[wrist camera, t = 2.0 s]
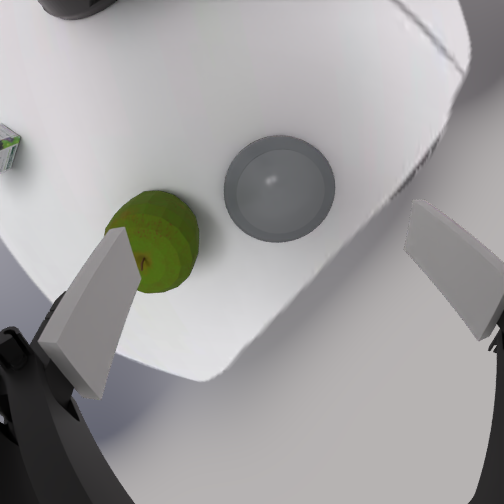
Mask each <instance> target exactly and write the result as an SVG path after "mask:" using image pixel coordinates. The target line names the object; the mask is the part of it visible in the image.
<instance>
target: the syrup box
mask: <svg viewBox="0 0 504 504" xmlns="http://www.w3.org/2000/svg"><path fill="white" fill-rule="evenodd" d="M19 140H20V136H18V135H17V134H16V133H14V132H13V131H11V130H10V129H9V128H7V127H6V126H4V125H3V124H0V174H1V173H3V172H5V171H7V170H9V169H11V167H12V163H13V160H14V156H15V153H16V150H17V147H18V144H19Z"/></svg>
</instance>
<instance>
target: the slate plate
mask: <svg viewBox="0 0 504 504" xmlns="http://www.w3.org/2000/svg"><path fill="white" fill-rule="evenodd" d="M334 194H335V180H334V175H333V172H332V169H331V167H330V165H329V163H328V161H327V160H326V158H325V157H324V156H323V155H322V154H321V152H320V151H319V150H317V149H316V148H315V147H313V146H312V145H310V144H309V143H307V142H305V141H303V140H301V139H298V138H295V137H291V136H283V135H280V136H270V137H265V138H262V139H259V140H257V141H255V142H253V143H251V144H249V145H248V146H246V147H245V148H244V149H243V150H242V151H240V152H239V154H238V155H237V156H236V157H235V158H234V160H233V161H232V163H231V165H230V167H229V169H228V171H227V174H226V177H225V183H224V200H225V204H226V208H227V210H228V213H229V215H230V217H231V218H232V220H233V221H234V223H235V224H236V225H237V226H238V227H239V228H240V229H241V230H242V231H244V232H245V233H246V234H248V235H250V236H251V237H254V238H256V239H258V240H262V241H266V242H277V243H279V242H288V241H292V240H295V239H298V238H301V237H303V236H305V235H307V234H308V233H310V232H311V231H313V230H314V229H315V228H316V227H317V226H319V225H320V224H321V222H322V221H323V220H324V219H325V217H326V216H327V214H328V212H329V210H330V208H331V206H332V203H333V200H334Z"/></svg>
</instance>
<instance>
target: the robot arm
mask: <svg viewBox="0 0 504 504" xmlns="http://www.w3.org/2000/svg"><path fill="white" fill-rule="evenodd" d="M37 1H38V2H39V3H40V4H41V5H42V7H43V9H44V10H45V11H46V12H47V13H49V14H50V15H52V16H55V17H58V18H62V19H67V20H73V19H80V18H84V17H87V16H90V15H93V14H95V13H97V12H99V11H101V10H103V9H105V8H106V7H108V6H110V5H111V4H113V3H114V2H115V1H117V0H37ZM404 250H405V252H406V253H407V254H408V255H409V256H410V257H411V258H412V259H413V260H414V262H415V263H416V264H417V265H418V266H419V267H420V268H421V269H422V271H423V272H424V273H425V274H426V275H427V276H428V278H429V279H430V280H431V281H432V282H433V283H434V285H435V286H436V287H437V288H438V289H439V290H440V292H441V293H442V294H443V295H444V297H445V298H446V299H447V300H448V302H449V303H450V304H451V305H452V307H453V308H454V309H455V311H456V312H457V313H458V314H459V316H460V317H461V318H462V320H463V321H464V322H465V324H466V325H467V326H468V328H469V329H470V330H471V332H472V333H473V335H474V336H475V338H476V339H477V340H478V341H480V340H482V339H484V338H486V337H489V336H490V335H491V333H492V331H493V329H494V328H495V326H496V324H497V325H498V326H499V327H500V330H499V331H498V333H497V335H496V336H495V338H494V340H493V341H492V343H491V344H490V346H489V349H488V351H491V349H492V348H493V346H494V345H497V346H496V348H495V349H494V351H493V352H495V353H497V375H496V392H495V402H494V412H493V419H492V426H491V432H490V438H489V443H488V448H487V452H486V457H485V461H484V465H483V469H482V473H481V476H480V480H479V483H478V486H477V489H476V492H475V495H474V497H473V498H472V500H471V501H470V502H469V503H468V504H504V262H503V261H501V260H500V259H499V258H498V257H497V256H496V255H495V254H494V253H493V252H491V251H490V250H489V249H488V248H487V247H486V246H484V245H483V244H482V243H481V242H480V241H479V240H477V239H476V238H475V237H474V236H472V235H471V234H470V233H469V232H468V231H466V230H465V229H464V228H463V227H461V226H460V225H459V224H457V223H456V222H455V221H454V220H452V219H451V218H449V217H448V216H447V215H446V214H444V213H443V212H441V211H440V210H439V209H437V208H436V207H434V206H433V205H431V204H430V203H429V202H427V201H426V200H413V202H412V208H411V214H410V220H409V226H408V231H407V236H406V241H405V246H404ZM140 281H141V276H140V273H139V270H138V267H137V264H136V261H135V258H134V255H133V252H132V249H131V246H130V242H129V239H128V236H127V232H126V229H125V227H120V228H113V229H110V230H109V231H108V232H107V234H106V235H105V236H104V238H103V239H102V240H101V242H100V243H99V244H98V246H97V247H96V248H95V250H94V251H93V253H92V254H91V255H90V257H89V258H88V260H87V261H86V263H85V264H84V265H83V267H82V268H81V270H80V271H79V273H78V274H77V276H76V277H75V279H74V280H73V282H72V284H71V285H70V287H69V288H68V290H67V291H65V292H64V293H63V294H62V295H60V296H59V297H58V298H57V299H56V300H55V302H54V304H53V305H52V307H51V309H50V312H48V314H47V315H46V317H45V320H44V321H43V322H42V324H41V326H40V327H39V329H38V331H37V333H36V335H35V336H34V338H33V340H32V342H31V344H30V345H29V344H28V342H27V341H26V340H25V338H24V337H23V335H22V334H21V332H20V331H19V329H18V328H16V327H7V328H5V329H3V330H2V331H1V332H0V414H1V415H2V416H3V417H4V424H3V423H1V422H0V504H135V503H134V502H133V500H132V499H131V498H130V496H129V495H128V494H127V492H126V491H125V489H124V488H123V486H122V485H121V483H120V482H119V481H118V479H117V478H116V476H115V474H114V473H113V471H112V470H111V468H110V466H109V465H108V463H107V461H106V460H105V458H104V456H103V455H102V453H101V452H100V449H99V447H98V446H97V444H96V442H95V440H94V438H93V436H92V434H91V433H90V430H89V428H88V426H87V424H86V422H85V420H84V418H83V416H82V414H81V412H80V410H79V407H78V405H77V403H76V401H75V400H74V398H73V397H72V396H71V395H72V392H73V389H74V388H75V389H76V391H77V392H78V393H79V394H80V395H81V396H82V397H83V398H89V399H97V400H101V399H102V395H103V391H104V388H105V384H106V381H107V377H108V374H109V370H110V367H111V364H112V361H113V357H114V354H115V351H116V348H117V345H118V342H119V339H120V336H121V333H122V330H123V327H124V324H125V321H126V318H127V315H128V313H129V310H130V307H131V304H132V302H133V299H134V296H135V294H136V291H137V289H138V286H139V283H140Z"/></svg>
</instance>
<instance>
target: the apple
mask: <svg viewBox="0 0 504 504" xmlns="http://www.w3.org/2000/svg"><path fill="white" fill-rule="evenodd" d="M120 227H125V229H126V232H127V236H128V239H129V242H130V246H131V249H132V252H133V255H134V258H135V261H136V264H137V267H138V270H139V273H140V276H141V281H140V283H139V286H138V289H137V290H138V291H140V292H143V293H161V292H166V291H168V290H171V289H174V288H176V287H178V286H179V285H180V284H181V283H182V282H184V281H185V280H186V279H187V278H188V277H189V275H190V273H191V271H192V269H193V266H194V263H195V261H196V258H197V255H198V248H199V228H198V225H197V221H196V217H195V215H194V214H193V213H192V211H191V210H190V209H189V207H188V206H187V205H186V204H185V203H184V202H183V201H181V200H180V199H179V198H177V197H176V196H175V195H173V194H169V193H166V192H163V191H144V192H142V193H141V194H139V195H137V196H136V197H134V198H132V199H131V200H130V201H128V202H127V203H126V204H125V205H123V206H122V207H121V208H120V209H119V210H118V212H117V213H116V214H115V215H114V216H113V218H112V219H111V221H110V222H109V224H108V225H107V227H106V229H105V234H104V236H105V235H106V234H107V232H108V231H109V230H110V229H113V228H120Z"/></svg>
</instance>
